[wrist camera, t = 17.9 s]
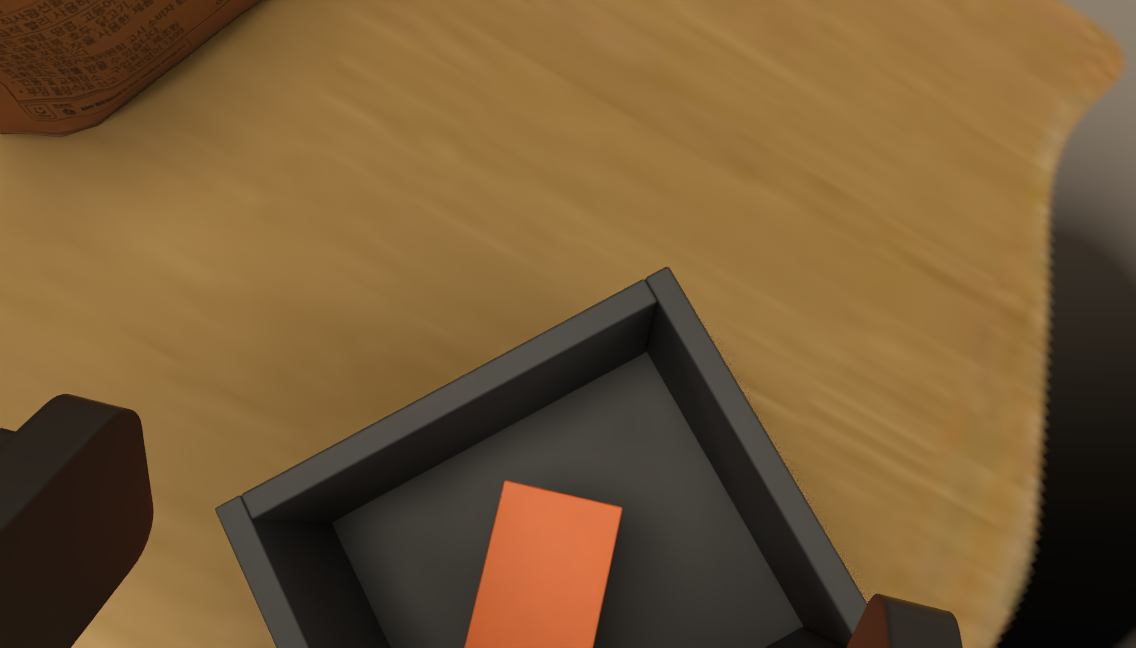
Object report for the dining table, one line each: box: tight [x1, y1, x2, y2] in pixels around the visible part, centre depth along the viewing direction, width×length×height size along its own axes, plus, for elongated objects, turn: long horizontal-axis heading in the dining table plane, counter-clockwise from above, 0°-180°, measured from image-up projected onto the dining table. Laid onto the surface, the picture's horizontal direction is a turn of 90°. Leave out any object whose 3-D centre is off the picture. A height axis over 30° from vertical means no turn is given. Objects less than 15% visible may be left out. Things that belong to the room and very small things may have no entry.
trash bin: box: [215, 267, 867, 648], centre depth 30 cm, size 15×13×9 cm
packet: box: [464, 480, 622, 648], centre depth 28 cm, size 5×3×11 cm, turn 167°
